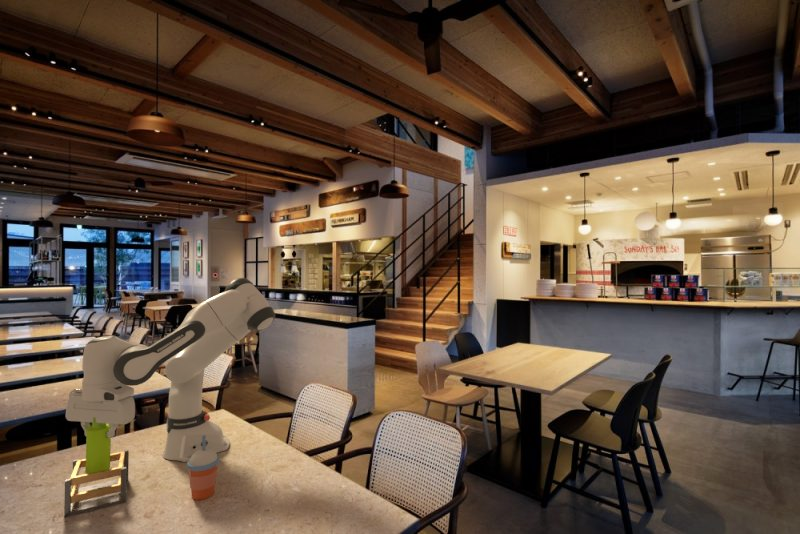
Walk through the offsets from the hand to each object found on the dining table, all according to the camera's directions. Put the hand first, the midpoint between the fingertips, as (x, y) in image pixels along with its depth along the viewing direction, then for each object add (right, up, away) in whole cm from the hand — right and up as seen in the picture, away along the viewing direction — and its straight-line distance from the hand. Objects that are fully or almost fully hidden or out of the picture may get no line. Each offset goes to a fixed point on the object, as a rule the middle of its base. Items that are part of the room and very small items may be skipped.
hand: (99, 436), depth 119 cm
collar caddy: (0, -18, 0) cm, 18 cm away
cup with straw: (+30, -19, +2) cm, 36 cm away
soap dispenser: (0, -10, 0) cm, 10 cm away
